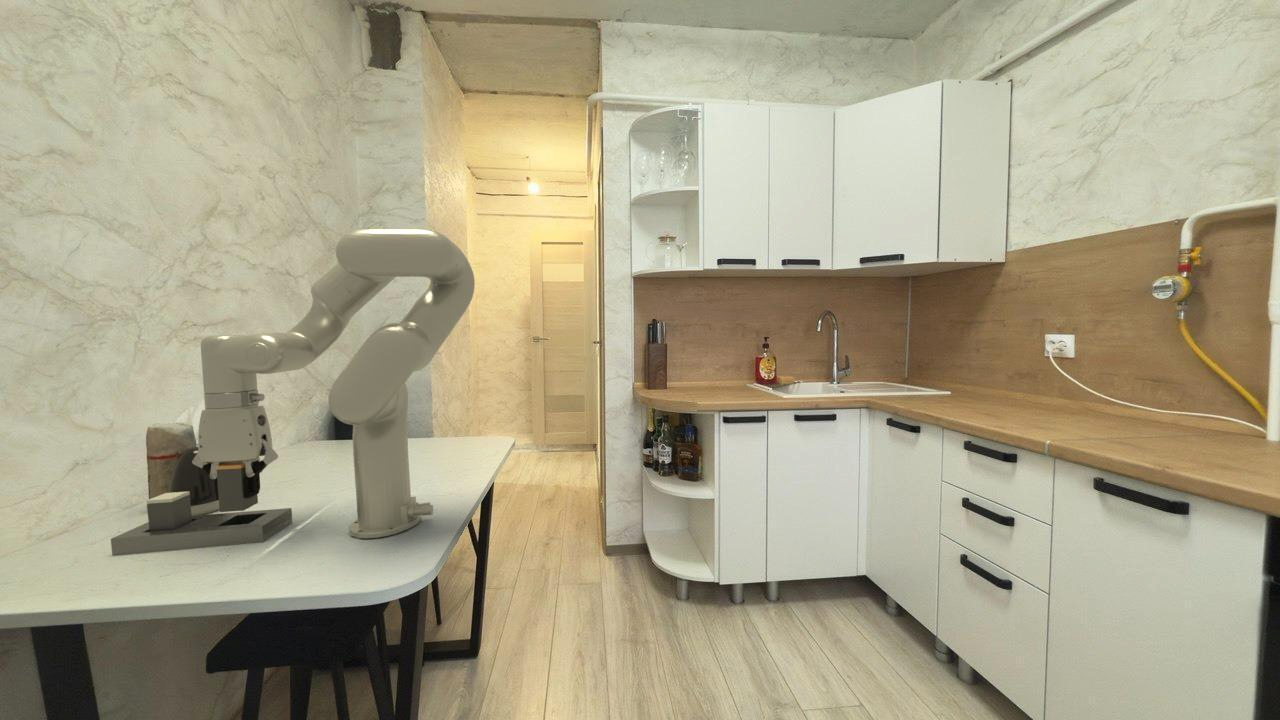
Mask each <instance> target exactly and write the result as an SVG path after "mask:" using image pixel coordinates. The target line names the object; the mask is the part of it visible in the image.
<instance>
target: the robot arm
mask: <svg viewBox="0 0 1280 720" xmlns="http://www.w3.org/2000/svg"><path fill="white" fill-rule="evenodd" d="M335 257H336V259H337V263H336V264H335V265H333V266H332V267H331V268H330V269H329V270H328V271H327V272H326V273H324V274H323V275H322V276H321V277H320V278H319V279H317V281H315V282H314V283H313V284H312V286H311V287H310V294H311V297H312V303H311V307H310V309H309V311H308V312H307V313H306V315H305V316H304V317H303V318H302V319H301V320H300V321H299V322H297V324H295V326H293V327H292V328H290V330H289V331H287V332H270V333H269V332H266V333H255V334H249V335H245V334H244V335H243V334H218V335H214V334H213V335H207V336H205V337H203V339H202V340H201V341H200V355H201V370H202V371H201V372H202V382H203V383H202V384H203V396H204V398H203V399H204V409H203V410H202V409H201V412H200V416H199V424H198V433H197V434H198V435H197V436H198V437H197V447H198V450H199V451H198V453H197V454H196V456H195V458H194V459H193V461H192V463H193V464H194V465H196V466H198V467H200V468H203V470H204V471H206V472H207V473H208V474H210V478H211V479H214V483H215V493H216V499H217V500H219V497H218V482H217V468H216V466H219V465H222V464H224V463H227V462H241V461H243V465H244V468H245V472H246V475H247V477H245V478H244V493H245V498H251V497H253V496H255V495H257V496H258V494H259V493H260V490H261V478H260V477H261V476H260V475H261V473H263V471H264V470H265V468H266V467H268V465H270V464H271V463H273V462H274V461H276V460H277V459H279V454H278V453H277V452H276V450H275V449H274V448H273V440H272V433H271V428H270V421H269V418H268V414H267V413H266V412H267V411H266V410H265V407H264V405H259V404H260V402H262V401H265V394H264V393H259V390H258V379H257V374H259V375H261V374H263V375H271V374H272V375H273V374H278V373H284V372H291V371H298V370H301V369H303V368H306V367H308V366H309V365H310V364H312V363H314V361H316V360H317V359H318V358H319V357H320V356H321V355H322V354H323V353H325V352H326V351H327V350H328V349H329V348H330V347H331V346H333V344H334V343H335V342H336V341H337V340H338V339H339V337H341V335H342V333H344V330H345V329H346V328H347V326H348V325H349V323H350V321H351V319H352V318H353V317H354V316H355V315H356V314H357V313H358V312H359V311H360V310H361V309H363V307H364V306H366V305H367V304H368V303H369V302H370V301H371V300H372V299H373V298H375V297H376V296H377V295H378V294H379V293H380V292H381V291H383V289H385V288H386V287H387V286H388V285H389V284H390V283H391V282H392V281H393V280H394V279H395V278H397V277H398V278H399V277H401V278H403V277H404V278H405V277H406V278H407V277H409V278H410V277H414V278H416V277H418V278H419V277H420V278H427V279H429V280H430V283H429V286H428V288H427V289H426V290H425V291H424V292H423V294H421V296H420V297H419V298H418V299H417V300H416V301H415V303H414V304H413V305H412V307H411V309H410V310H409V311H408V313H407V314H406V315H405V316H404V317H403V318H402V320H401V321H399V322H395V323H390V324H389V323H388V324H386V325H383V326H381V327H379V328H378V329H377V330H376V329H375V331H374V332H373V333H372V334H369V336H368V337H367V339H365V341H364V342H363V344H362V345H361V346H360V347H359V348H358V349H357V352H356V353H354V356H353V357H352V358H351V359H350V361H349V362H348V364H347V365H346V366H345V367H344V369H343V370H342V371H341V373H340V374H339V376H338V377H337V378H336V380H335V381H333V384H332V386H331V388H330V390H329V394H328V405H329V409H330V412H331V413H332V414H333V416H334V417H335V418H336V419H337V420H338V421H340V422H342V423H343V424H347V425H352V457H353V470H354V482H355V485H354V486H355V498H356V500H355V501H356V513H357V514H356V515H357V519H355V520H354V521H352V523H350V525H349V527H348V529H349V530H348V531H349V532H348V533H349V535H350V536H352V537H353V538H357V539H376V538H384V537H388V536H392V535H395V534H396V535H397V534H399V533H402V532H404V531H406V530H409V529H412V528H413V527H416V525H418V523H420V521H421V520H422V519H421V517H422V516H423V517H424V516H432V515H433V514H434V505H433V504H431V502H422V503H421V502H420V503H419V502H417V496H412V492H411V477H410V464H409V463H410V462H409V442H408V441H409V439H408V438H409V437H408V411H409V410H408V409H409V408H408V407H409V392H408V387H407V384H406V382H407V381H408V380H409V378H410V377H411V376H412V374H414V372H415V373H416V372H418V371H420V370H422V369H425V367H426V368H427V366H428V365H429V364H430V363H431V361H432V360H433V358H434V357H435V355H436V354H437V353H438V351H439V350H440V348H441V347H442V345H443V344H444V342H445V341H446V340H447V338H448V337H449V336H450V334H451V332H453V330H454V328H455V327H456V325H458V322H459V321H460V320H461V319H462V317H463V316H464V314H465V312H466V311H467V309H468V307H469V306H470V304H471V302H472V300H473V297H474V295H475V294H474V293H475V289H476V287H475V286H476V285H475V283H476V282H475V274H474V271H473V268H472V266H471V263H470V262H469V260H468V258H467V257H466V255H465V253H464V252H463V250H461V249H460V247H458V245H456V244H455V243H454V242H453V241H451V239H450V238H449V237H447V236H445V234H443V233H440V232H437V231H435V230H431V229H422V228H421V229H419V228H418V229H417V228H416V229H414V228H413V229H412V228H411V229H409V228H408V229H407V228H405V229H403V228H402V229H401V228H400V229H398V228H397V229H396V228H394V229H393V228H389V229H388V228H386V229H385V228H361V229H356V230H355V229H354V230H351V231H349V232H348V233H346V234H344V235H343V236H342V237H340V239H339V241H338V242H337V245H336V248H335ZM261 456H262V457H264V458H263V459H262V460H261V458H260V457H261Z"/></svg>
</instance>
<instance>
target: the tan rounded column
mask: <svg viewBox="0 0 1280 720" xmlns="http://www.w3.org/2000/svg"><path fill="white" fill-rule="evenodd" d="M145 446H146V465H147V485H148V487H147V488H148V489H147V490H148V500H149V499H152V498H154V497H157V496H159V495H162V494H165V493H168V489H169V483H170V479H171V476H172V472H173V469H174V467H175V464H176V462H177V460H178V459H179V457H180V456H181V454H182V453H183V452H185V451H186V450H188V449H190V448H193V447H198V442H197V439H196V435H195V431H194V426H193V425H192V424H190V423H186V422H170V423H169V422H168V423H151V424H149V426H148V427H147V430H146V437H145Z"/></svg>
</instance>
